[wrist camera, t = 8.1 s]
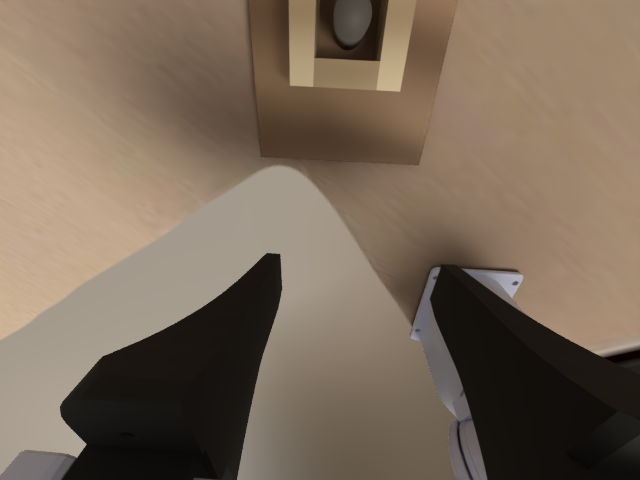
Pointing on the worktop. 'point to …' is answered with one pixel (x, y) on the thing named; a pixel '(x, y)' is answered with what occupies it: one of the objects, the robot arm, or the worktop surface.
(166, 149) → the worktop surface
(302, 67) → the ring
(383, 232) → the worktop surface
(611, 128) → the worktop surface
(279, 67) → the post board
